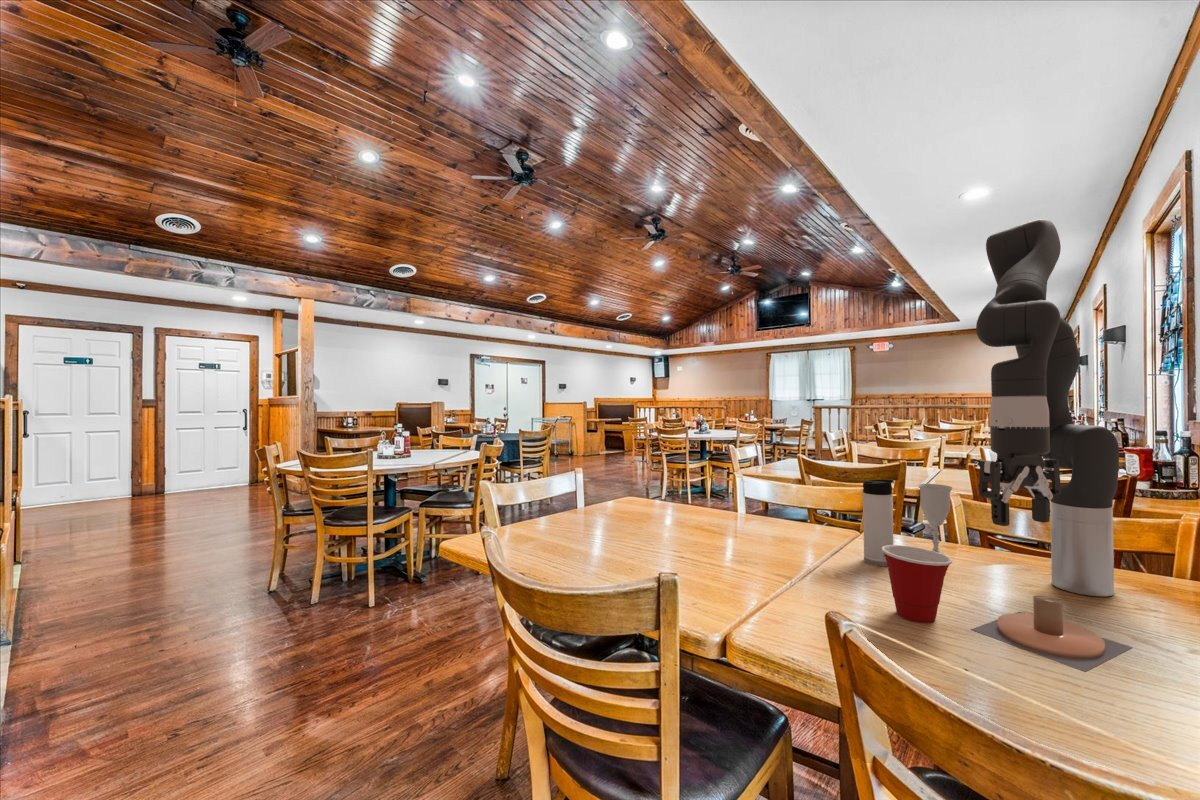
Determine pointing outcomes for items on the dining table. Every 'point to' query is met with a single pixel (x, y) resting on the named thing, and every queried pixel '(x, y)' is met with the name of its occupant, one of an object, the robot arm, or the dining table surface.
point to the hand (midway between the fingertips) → (1021, 523)
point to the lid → (1050, 631)
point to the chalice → (935, 507)
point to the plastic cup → (916, 580)
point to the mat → (1079, 663)
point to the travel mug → (877, 520)
